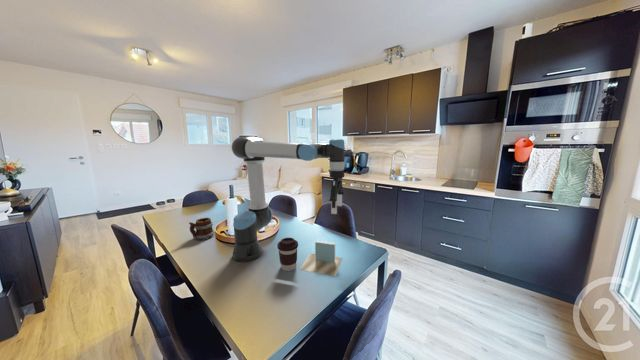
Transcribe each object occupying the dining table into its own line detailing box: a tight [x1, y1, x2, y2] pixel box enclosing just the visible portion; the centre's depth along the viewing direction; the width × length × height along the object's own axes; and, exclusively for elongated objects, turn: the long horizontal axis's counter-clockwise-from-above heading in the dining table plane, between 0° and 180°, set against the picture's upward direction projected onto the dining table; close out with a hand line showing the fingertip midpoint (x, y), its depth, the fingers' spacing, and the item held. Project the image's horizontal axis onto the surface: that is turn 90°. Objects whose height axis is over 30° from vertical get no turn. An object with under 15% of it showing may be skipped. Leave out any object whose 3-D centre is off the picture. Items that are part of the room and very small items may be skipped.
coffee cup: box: [277, 237, 299, 272], centre depth 106 cm, size 10×10×15 cm
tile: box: [314, 240, 336, 263], centre depth 111 cm, size 10×2×10 cm, turn 73°
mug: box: [188, 217, 215, 241], centre depth 143 cm, size 12×14×15 cm
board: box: [299, 253, 343, 277], centre depth 110 cm, size 18×16×1 cm
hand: (336, 209), depth 115 cm, fingers open, 13 cm apart
